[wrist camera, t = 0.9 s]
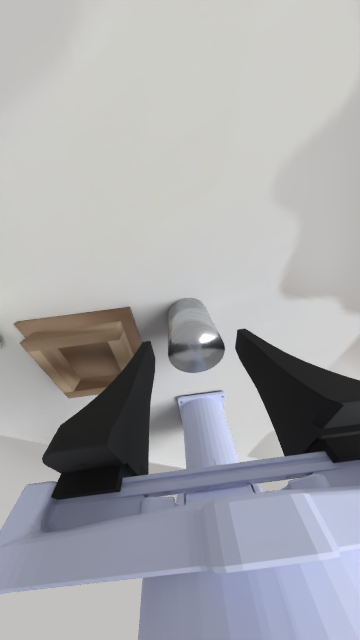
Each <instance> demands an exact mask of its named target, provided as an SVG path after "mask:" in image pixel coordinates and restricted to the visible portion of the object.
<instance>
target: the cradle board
mask: <svg viewBox="0 0 360 640" xmlns="http://www.w3.org/2000/svg"><path fill="white" fill-rule="evenodd" d="M14 325H15V326H16V327H17V328H18V330H19V331H20V332H21V333H22V334H23V335H24V337H25V338H26V339H24V340H23V341H22V342H20V344H21V346H22V347H23V348H24V349H25V350H26V351H27V352H28V353H29V355H30V356H31V357H32V358H33V359H34V360H35V361H36V362H37V363H38V365H39V366H40V367H41V368H42V369H43V370H44V371H45V372H46V374H47V375H48V376H49V377H50V378H51V379H52V380H53V381H54V382H55V384H56V385H57V386H58V387H59V388H60V389H61V390H62V391H63V393H64V394H65V395H66V396H67V397H68V398H74V397H82V396H89V395H97V394H100V393H101V392H102V391H103V390H105V389H106V388H107V387H108V386H109V385H110V384H111V383H112V382H113V381H114V379H115V378H116V377H117V376H118V375H119V374H120V373H121V371H122V370H123V369H124V368H125V366H126V365H127V364H128V363H129V361H130V360H131V358H132V357H133V356H134V354H135V353H136V351H137V350H138V348H139V347H140V345H141V344H142V342H141V339H140V336H139V333H138V330H137V327H136V324H135V320H134V317H133V314H132V311H131V308H130V307H125V308H117V309H109V310H102V311H94V312H86V313H79V314H71V315H63V316H56V317H48V318H40V319H33V320H25V321H18V322H16V323H14Z"/></svg>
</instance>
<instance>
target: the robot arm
mask: <svg viewBox="0 0 360 640" xmlns="http://www.w3.org/2000/svg"><path fill="white" fill-rule="evenodd" d="M235 349H236V352H237V354H238V356H239V359H240V361H241V362H242V364H243V366H244V367H245V369H246V371H247V373H248V374H249V376H250V378H251V379H252V381H253V383H254V384H255V386H256V388H257V390H258V392H259V394H260V397H261V399H262V401H263V403H264V405H265V408H266V410H267V412H268V415H269V417H270V419H271V422H272V424H273V427H274V429H275V432H276V434H277V437H278V440H279V442H280V445H281V448H282V450H283V453H284V456H285V457H277V458H270V459H263V460H254V461H247V462H240V460H239V457H238V454H237V451H236V447H235V444H234V441H233V438H232V435H231V432H230V428H229V425H228V422H227V419H226V416H225V412H224V404H225V392H223V391H221V392H213V393H205V394H198V395H190V396H182V397H178V405H179V410H180V415H181V419H182V424H183V430H184V443H185V456H186V470H179V471H173V472H172V471H171V472H164V473H156V474H150V475H148V452H149V418H150V401H151V393H152V387H153V380H154V373H155V356H154V353H153V349H152V345H151V342H150V341H146V342H142V344H141V345H140V347H139V348H138V350H137V351H136V353H135V354H134V356H133V357H132V358H131V360H130V361H129V363H128V364H127V365H126V366H125V368H124V369H123V370H122V371H121V373H120V374H119V375H118V376H117V377H116V378H115V379H114V381H113V382H112V383H111V384H110V385H109V386H108V387H107V388H106V389H105V390H103V391H102V392H101V393H100V394H99V395H98V396H97V397H96V398H95V399H94V400H93V401H91V402H90V403H89V404H88V405H87V406H85V407H84V408H83V409H82V410H80V411H79V412H78V413H76V414H75V415H74V416H72V417H71V418H70V419H68V420H67V421H66V422H65V423H63V424H62V425H60V427H59V429H58V430H57V432H56V434H55V436H54V437H53V439H52V441H51V443H50V444H49V446H48V448H47V450H46V452H45V453H44V455H43V458H42V460H43V463H44V464H45V465H47V466H48V467H50V468H52V469H54V470H56V471H57V472H59V473H61V476H60V478H59V480H58V482H42V483H35V484H28V485H27V486H25V488H24V490H23V492H22V493H21V495H20V497H19V499H18V500H17V502H16V504H15V506H14V507H13V509H12V511H11V513H10V515H9V517H8V518H7V520H6V522H5V524H4V525H3V527H2V529H1V531H0V594H3V593H10V592H20V591H28V590H37V589H45V588H55V587H64V586H73V585H82V584H90V583H100V582H109V581H118V580H127V579H136V578H143V582H142V595H141V608H140V622H139V623H140V624H139V635H138V640H360V381H359V380H356V379H352V378H349V377H346V376H343V375H340V374H337V373H334V372H331V371H328V370H325V369H323V368H320V367H317V366H315V365H312V364H310V363H307V362H305V361H303V360H300V359H298V358H296V357H294V356H292V355H289V354H287V353H285V352H283V351H282V350H280V349H278V348H276V347H274V346H273V345H271V344H269V343H267V342H266V341H264V340H262V339H261V338H259V337H258V336H256V335H254V334H253V333H251V332H250V331H248V330H246V329H239V330H237V338H236V346H235ZM295 478H297V479H295ZM287 479H294V480H290V481H289V482H288V485H287V486H286V487H285V488H283V489H281V490H278V491H266V492H264V491H263V489H262V487H261V486H260V484H259V483H264V482H272V481H280V480H287ZM174 494H178V495H177V500H176V503H175V499H174V497H159V496H166V495H174Z"/></svg>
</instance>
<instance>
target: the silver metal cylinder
mask: <svg viewBox="0 0 360 640" xmlns="http://www.w3.org/2000/svg"><path fill="white" fill-rule="evenodd" d="M224 351H225V347H224V343H223V341H222V339H221V337H220V335H219V333H218V331H217V329H216V327H215V325H214V323H213V321H212V319H211V317H210V315H209V313H208V311H207V309H206V307H205V306H204V304H203V303H202V302H201V301H199V300H197V299H194V298H184V299H181V300H178V301H177V302H175V303H174V304H173V305H172V307H171V308H170V310H169V314H168V356H169V360H170V362H171V364H172V365H173V366H174V367H175V368H177V369H179V370H181V371H184V372H189V373H197V372H202V371H206V370H208V369H211V368H212V367H214V366H215V365H217V364H218V363H219V362H220V360H221V359H222V357H223V355H224Z"/></svg>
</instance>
